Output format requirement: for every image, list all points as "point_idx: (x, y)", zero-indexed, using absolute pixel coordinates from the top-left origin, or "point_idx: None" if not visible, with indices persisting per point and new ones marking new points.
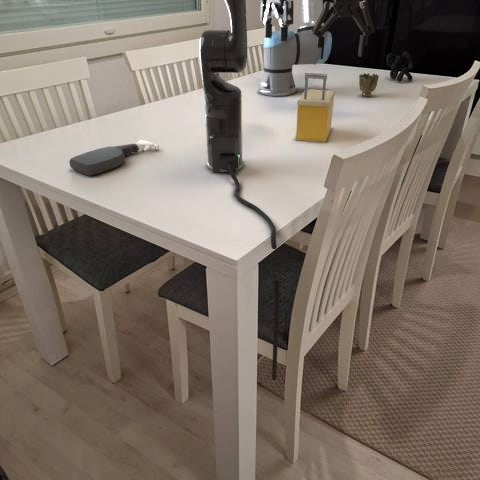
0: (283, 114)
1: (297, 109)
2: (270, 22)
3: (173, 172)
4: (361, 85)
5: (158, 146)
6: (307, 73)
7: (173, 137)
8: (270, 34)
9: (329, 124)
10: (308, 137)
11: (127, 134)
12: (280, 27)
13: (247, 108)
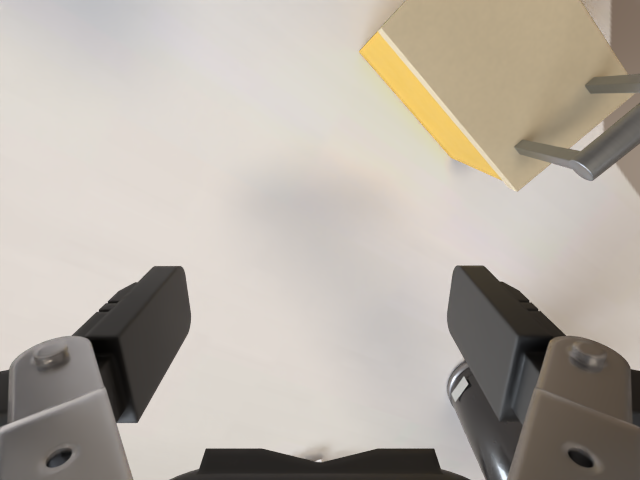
0: (185, 27)
1: (493, 176)
2: (100, 371)
3: (445, 462)
4: None
5: (320, 460)
6: (606, 166)
7: (252, 408)
8: (175, 291)
9: None
10: None
11: (183, 473)
12: (510, 418)
13: (51, 115)
